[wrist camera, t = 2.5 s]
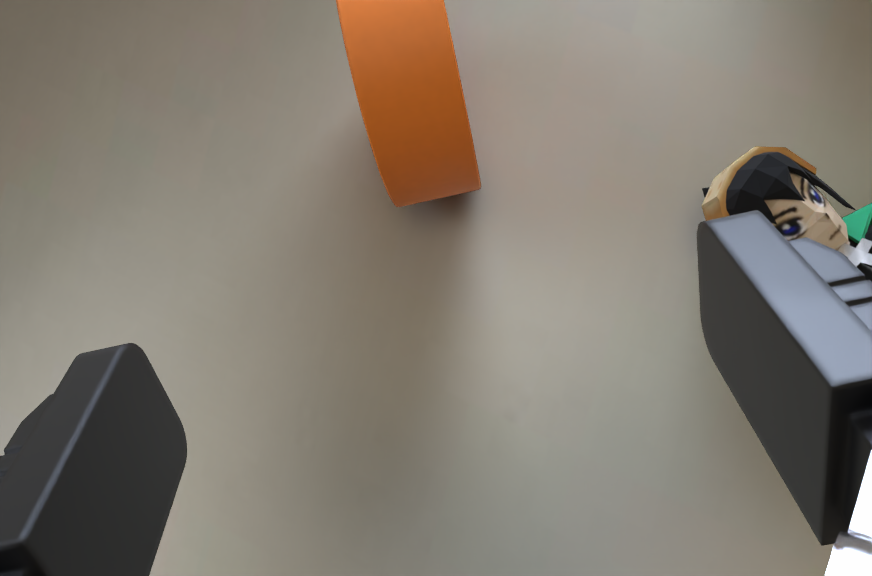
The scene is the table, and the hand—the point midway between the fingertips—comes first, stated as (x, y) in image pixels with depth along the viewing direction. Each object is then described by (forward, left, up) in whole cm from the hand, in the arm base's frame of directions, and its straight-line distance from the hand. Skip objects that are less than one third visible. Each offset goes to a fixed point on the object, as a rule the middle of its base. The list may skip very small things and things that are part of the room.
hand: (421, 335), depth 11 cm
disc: (-7, +9, -17) cm, 21 cm away
